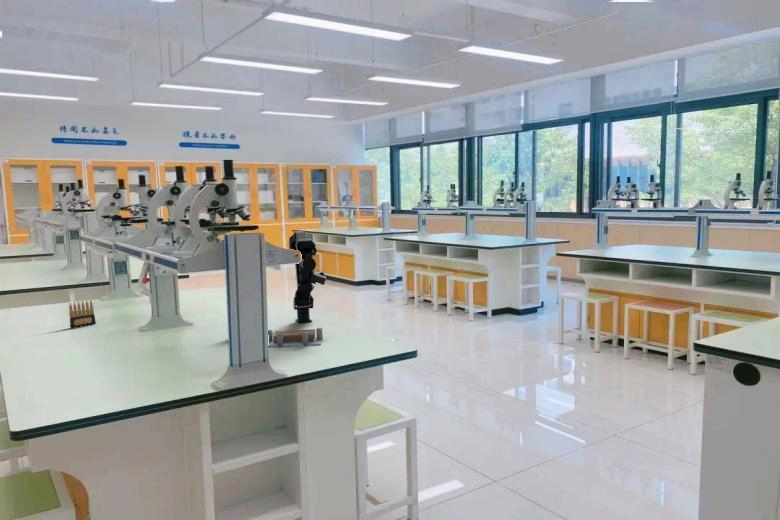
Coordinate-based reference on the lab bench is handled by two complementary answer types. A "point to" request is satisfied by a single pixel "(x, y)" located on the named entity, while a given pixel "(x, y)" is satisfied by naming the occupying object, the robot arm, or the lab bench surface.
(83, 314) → the ammunition clip
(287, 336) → the shelf board
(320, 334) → the peg plate
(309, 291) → the robot arm
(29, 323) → the lab bench surface
